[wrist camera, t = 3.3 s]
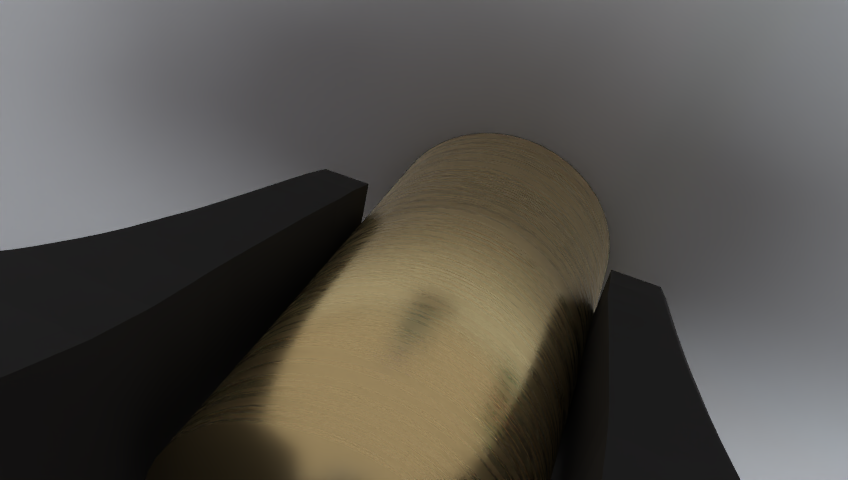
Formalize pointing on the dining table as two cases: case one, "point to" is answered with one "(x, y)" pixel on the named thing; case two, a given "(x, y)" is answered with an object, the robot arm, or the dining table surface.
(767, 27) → the dining table surface
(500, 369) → the brass pin
